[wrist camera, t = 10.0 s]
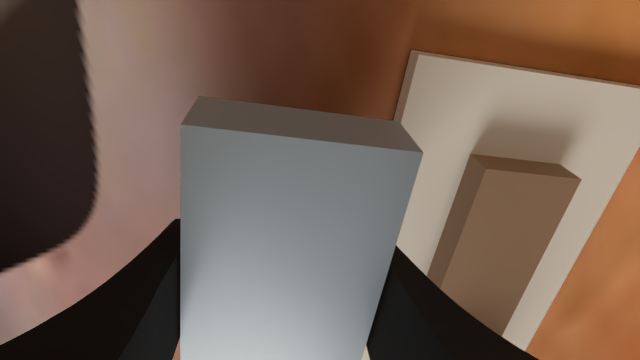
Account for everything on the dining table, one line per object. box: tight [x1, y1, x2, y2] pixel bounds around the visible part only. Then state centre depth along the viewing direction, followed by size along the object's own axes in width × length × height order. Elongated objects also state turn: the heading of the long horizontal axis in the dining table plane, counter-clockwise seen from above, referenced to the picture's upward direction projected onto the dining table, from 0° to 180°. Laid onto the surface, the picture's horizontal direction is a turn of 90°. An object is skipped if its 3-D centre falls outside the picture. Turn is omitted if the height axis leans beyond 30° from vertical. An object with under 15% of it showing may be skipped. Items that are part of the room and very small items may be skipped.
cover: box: [180, 96, 423, 360], centre depth 11 cm, size 5×9×2 cm, turn 171°
